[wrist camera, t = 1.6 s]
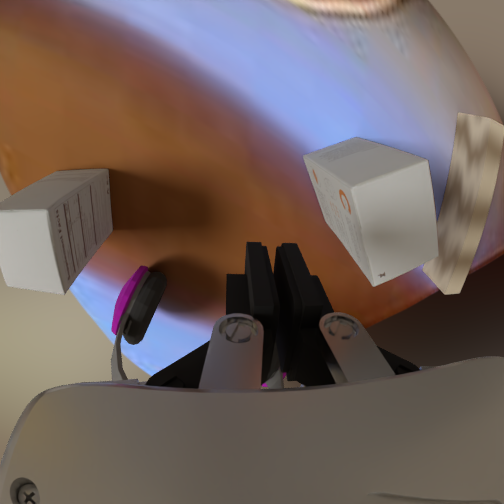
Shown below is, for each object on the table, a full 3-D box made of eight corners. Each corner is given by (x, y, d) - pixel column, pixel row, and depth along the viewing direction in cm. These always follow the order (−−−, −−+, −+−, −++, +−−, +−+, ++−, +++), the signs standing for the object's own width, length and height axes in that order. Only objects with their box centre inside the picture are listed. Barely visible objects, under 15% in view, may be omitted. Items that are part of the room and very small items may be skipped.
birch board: (457, 112, 25) (490, 118, 20) (472, 119, 26) (504, 126, 20) (422, 270, 36) (444, 294, 30) (436, 270, 36) (459, 293, 31)
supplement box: (63, 229, 30) (4, 287, 19) (56, 169, 26) (-17, 209, 15) (115, 232, 30) (65, 298, 19) (111, 167, 27) (46, 208, 16)
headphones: (295, 312, 37) (332, 453, 20) (260, 353, 41) (276, 483, 23) (140, 245, 31) (69, 390, 14) (121, 300, 35) (68, 434, 17)
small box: (374, 202, 31) (440, 258, 19) (324, 222, 32) (372, 290, 20) (356, 134, 27) (430, 158, 16) (300, 154, 28) (348, 188, 16)
